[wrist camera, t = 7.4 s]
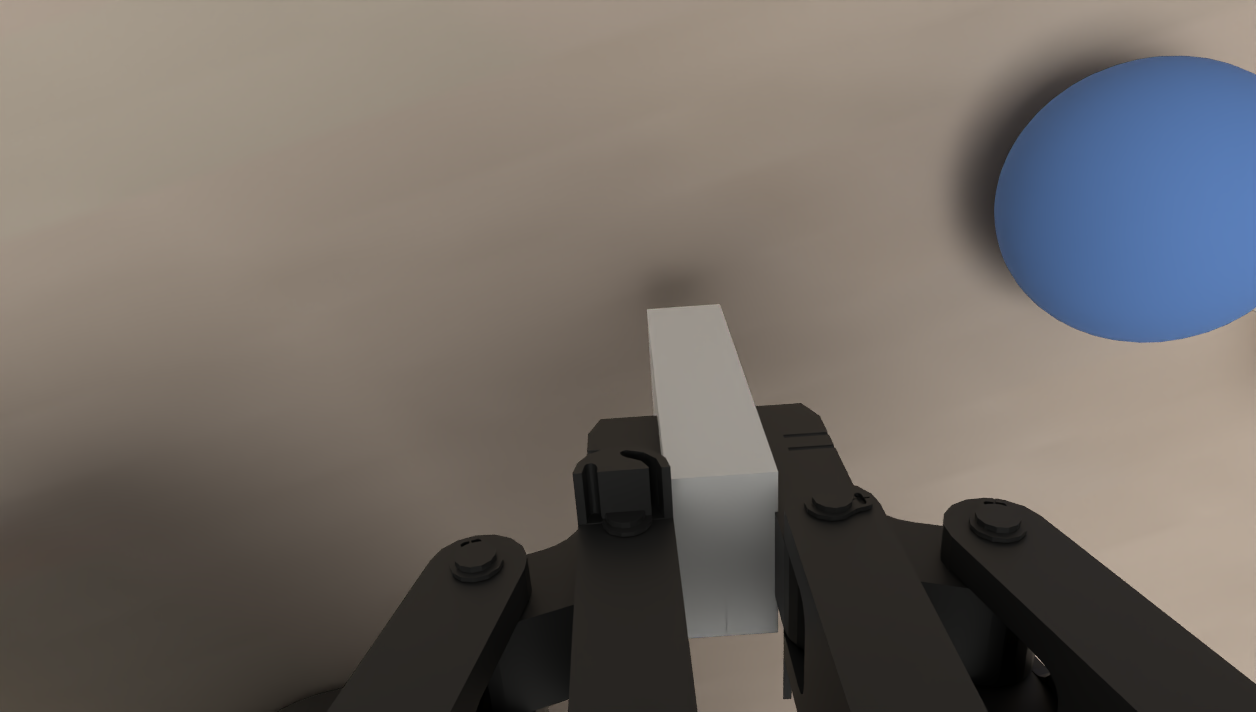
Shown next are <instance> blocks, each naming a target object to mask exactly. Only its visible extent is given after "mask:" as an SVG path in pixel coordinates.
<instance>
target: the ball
mask: <svg viewBox="0 0 1256 712" xmlns="http://www.w3.org/2000/svg"><path fill="white" fill-rule="evenodd" d="M994 218H995V229H996V235H997V240H998V244H999V248H1000V251H1001V254H1002V257H1003V259H1004V261H1005V264H1006V266H1007V268H1008V269H1009V271H1010V273H1011V274H1012V276H1013V277H1014V279H1015V280H1016V282H1017V284H1018V285H1019V286H1020V288H1021V289H1022V290H1023V291H1024V292H1025V293H1026V294H1027V295H1028V296H1029V297H1030V298H1031V299H1032V300H1033V301H1034V302H1035V303H1036V304H1037V305H1038V306H1039V307H1040V308H1042V309H1043V310H1044V311H1046V312H1047V313H1049V314H1050V315H1051V316H1053V317H1054V318H1056V319H1057V320H1059V321H1061V322H1063V323H1065V324H1067V325H1069V326H1071V327H1073V328H1075V329H1077V330H1080V331H1083V332H1086V333H1088V334H1091V335H1094V336H1098V337H1103V338H1107V339H1112V340H1118V341H1129V342H1139V343H1141V342H1163V341H1170V340H1177V339H1183V338H1187V337H1191V336H1195V335H1199V334H1202V333H1206V332H1209V331H1212V330H1214V329H1217V328H1219V327H1222V326H1224V325H1227V324H1229V323H1231V322H1232V321H1234V320H1236V319H1238V318H1240V317H1242V316H1243V315H1245V314H1247V313H1249V312H1250V311H1252V310H1253V309H1254V308H1256V75H1255V74H1253V73H1251V72H1249V71H1246V70H1244V69H1241V68H1239V67H1236V66H1234V65H1231V64H1229V63H1225V62H1221V61H1216V60H1212V59H1208V58H1200V57H1191V56H1158V57H1151V58H1144V59H1137V60H1133V61H1130V62H1126V63H1122V64H1118V65H1115V66H1113V67H1110V68H1107V69H1105V70H1102V71H1100V72H1097V73H1095V74H1092V75H1090V76H1088V77H1086V78H1084V79H1082V80H1081V81H1079V82H1077V83H1075V84H1073V85H1072V86H1070V87H1069V88H1067V89H1066V90H1065V91H1063V92H1062V93H1060V94H1059V95H1058V96H1056V97H1055V98H1054V99H1052V100H1051V101H1050V102H1049V103H1048V104H1047V105H1046V106H1044V107H1043V108H1042V109H1041V110H1040V111H1039V112H1038V113H1037V114H1036V115H1035V116H1034V118H1033V119H1032V120H1031V121H1030V122H1029V123H1028V125H1027V126H1026V127H1025V128H1024V129H1023V131H1022V132H1021V133H1020V135H1019V137H1018V138H1017V140H1016V141H1015V143H1014V144H1013V146H1012V148H1011V150H1010V152H1009V154H1008V156H1007V158H1006V161H1005V163H1004V165H1003V168H1002V170H1001V173H1000V177H999V181H998V185H997V190H996V195H995V204H994Z"/></svg>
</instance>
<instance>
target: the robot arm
mask: <svg viewBox="0 0 1256 712" xmlns="http://www.w3.org/2000/svg"><path fill="white" fill-rule="evenodd" d="M647 320H648V336H649V352H650V367H651V383H652V399H653V414H654V416H642V417H627V418H613V419H601V420H600V421H599V422H598V423H597V424H596V426H595V427H594V428H593V429H592V430H591V432H590V433H589V434H588V447H587V453H588V454H587V456H586V457H585V458H584V459H582V460H581V461H580V462H579V463H577V465H576V467H575V470H574V472H573V481H574V490H575V499H576V509H577V518H578V530H577V531H576V532H575V533H574V534H573V535H572V536H570V537H569V538H568V539H567V540H565V541H563V542H561V543H559V544H558V545H556V546H553V547H550V548H548V549H545V550H542V551H538V552H535V553H531V554H528V555H526V553H525V551H524V548H523V546H522V545H520V544H519V543H517V542H516V541H514V540H513V539H511V538H507V537H503V536H498V535H478V536H473V537H469V538H465V539H462V540H458V541H456V542H454V543H452V544H451V545H449V546H447V547H445V548H443V549H442V550H441V551H440V552H438V553H437V554H436V555H435V556H434V557H433V558H432V559H431V560H430V562H429V563H428V565H427V566H426V568H425V569H424V571H423V572H422V574H421V575H420V576H419V578H418V579H417V581H416V582H415V584H414V585H413V587H412V588H411V590H410V591H409V593H408V594H407V595H406V597H405V598H404V600H403V601H402V603H401V604H400V606H399V607H398V609H397V610H396V611H395V613H394V614H393V616H392V617H391V619H390V620H389V622H388V623H387V625H386V626H385V628H384V629H383V630H382V632H381V633H380V635H379V636H378V638H377V639H376V641H375V642H374V644H373V645H372V647H371V648H370V649H369V651H368V652H367V654H366V655H365V657H364V658H363V660H362V661H361V663H360V664H359V666H358V667H357V668H356V670H355V671H354V673H353V674H352V676H351V677H350V679H349V680H348V682H347V683H346V684H345V686H344V687H343V688H342V689H337V690H333V691H328V692H325V693H322V694H318V695H315V696H312V697H309V698H306V699H304V700H301V701H298V702H296V703H294V704H292V705H289V706H287V707H285V708H283V709H281V710H279V711H278V712H548V706H550V705H553V704H556V703H559V702H562V701H565V700H568V699H569V704H568V712H697V704H696V696H695V688H694V680H693V672H692V664H691V656H690V648H689V640H688V638H701V637H716V636H731V635H745V634H760V633H775V632H778V609H779V612H780V616H781V620H782V624H783V627H784V674H783V699H791V694H792V693H793V697H794V701H795V705H796V708H797V712H1256V684H1255V683H1254V682H1253V681H1251V680H1250V679H1249V678H1247V677H1246V676H1245V675H1244V674H1242V673H1241V672H1240V671H1238V670H1237V669H1236V668H1235V667H1233V666H1232V665H1231V664H1230V663H1228V662H1227V661H1226V660H1224V659H1223V658H1222V657H1221V656H1219V655H1218V654H1217V653H1215V652H1214V651H1213V650H1212V649H1210V648H1209V647H1208V646H1207V645H1205V644H1204V643H1203V642H1201V641H1200V640H1199V639H1198V638H1196V637H1195V636H1194V635H1192V634H1191V633H1190V632H1189V631H1187V630H1186V629H1185V628H1184V627H1182V626H1181V625H1180V624H1178V623H1177V622H1176V621H1175V620H1173V619H1172V618H1171V617H1169V616H1168V615H1167V614H1166V613H1164V612H1163V611H1162V610H1161V609H1159V608H1158V607H1157V606H1155V605H1154V604H1153V603H1152V602H1150V601H1149V600H1148V599H1146V598H1145V597H1144V596H1143V595H1141V594H1140V593H1139V592H1137V591H1136V590H1135V589H1134V588H1132V587H1131V586H1130V585H1129V584H1127V583H1126V582H1125V581H1123V580H1122V579H1121V578H1120V577H1118V576H1117V575H1116V574H1114V573H1113V572H1112V571H1111V570H1109V569H1108V568H1107V567H1106V566H1104V565H1103V564H1102V563H1100V562H1099V561H1098V560H1097V559H1095V558H1094V557H1093V556H1091V555H1090V554H1089V553H1088V552H1086V551H1085V550H1084V549H1083V548H1081V547H1080V546H1079V545H1077V544H1076V543H1075V542H1074V541H1072V540H1071V539H1070V538H1068V537H1067V536H1066V535H1065V534H1063V533H1062V532H1061V531H1060V530H1058V529H1057V528H1056V527H1054V526H1053V525H1052V524H1051V523H1049V522H1048V521H1047V520H1045V519H1044V518H1043V517H1042V516H1040V515H1038V514H1037V513H1035V512H1033V511H1032V510H1030V509H1028V508H1026V507H1025V506H1022V505H1018V504H1015V503H1012V502H1009V501H1006V500H1001V499H993V498H978V499H967V500H964V501H961V502H959V503H956V504H954V505H952V506H951V507H950V508H949V509H948V510H947V511H946V512H945V513H944V519H943V526H938V525H930V524H923V523H915V522H909V521H904V520H899V519H895V518H893V517H890V516H887V515H886V514H885V512H884V510H883V508H882V506H881V504H880V503H879V502H878V501H877V499H876V498H875V497H874V496H873V495H872V494H871V493H869V492H867V491H865V490H863V489H861V488H860V487H858V486H854V485H853V483H852V481H851V479H850V477H849V475H848V473H847V471H846V469H845V467H844V465H843V463H842V461H841V459H840V457H839V454H838V452H837V450H836V448H834V444H833V442H832V440H831V438H830V436H829V435H828V434H827V430H826V428H825V426H824V424H823V422H822V420H821V418H820V416H819V415H817V414H816V413H815V412H813V411H812V410H810V409H809V408H807V407H806V406H804V405H803V404H802V403H797V404H783V405H768V406H755V404H754V401H753V398H752V395H751V392H750V389H749V386H748V384H747V381H746V378H745V375H744V372H743V369H742V366H741V363H740V360H739V358H738V355H737V352H736V349H735V346H734V343H733V340H732V337H731V335H730V332H729V329H728V326H727V323H726V320H725V317H724V314H723V311H722V309H721V306H720V304H712V305H698V306H684V307H670V308H656V309H647ZM1035 655H1036V656H1037V657H1038V658H1039V659H1040V660H1041V661H1042V663H1043V664H1044V665H1045V666H1044V665H1043V664H1042V663H1041V662H1040V661H1039V660H1038V659H1037V658H1036V657H1035Z"/></svg>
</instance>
